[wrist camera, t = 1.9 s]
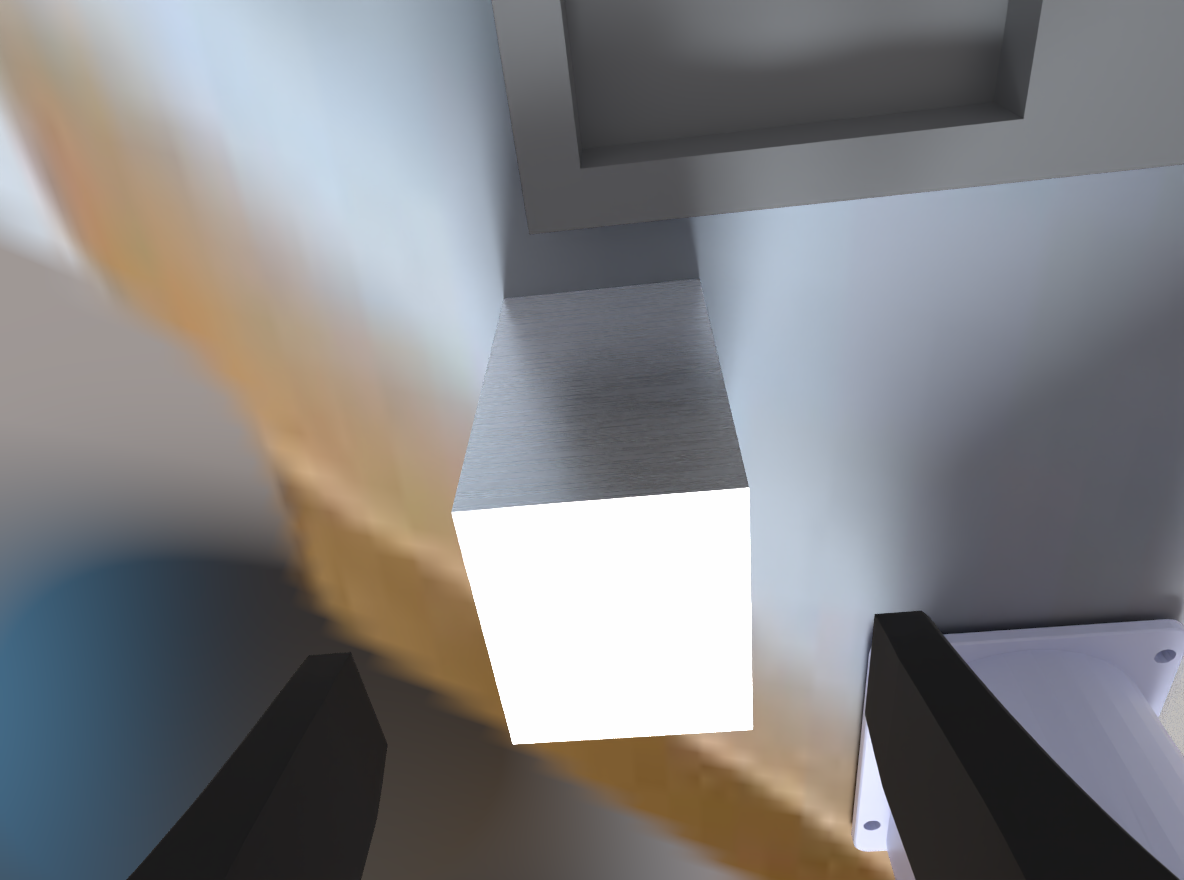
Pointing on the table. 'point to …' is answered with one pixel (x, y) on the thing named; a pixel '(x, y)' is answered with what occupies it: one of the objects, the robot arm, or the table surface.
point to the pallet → (826, 99)
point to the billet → (609, 518)
